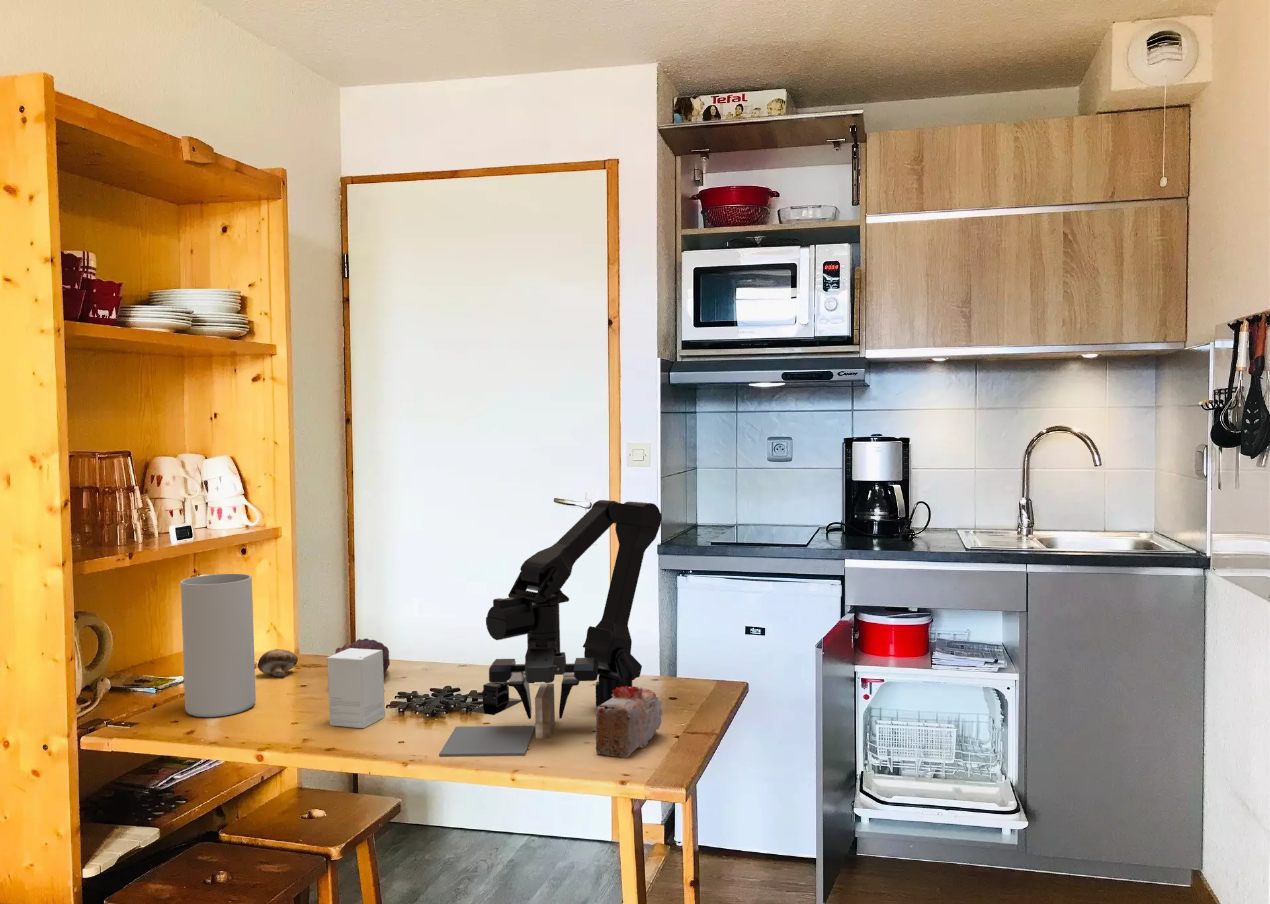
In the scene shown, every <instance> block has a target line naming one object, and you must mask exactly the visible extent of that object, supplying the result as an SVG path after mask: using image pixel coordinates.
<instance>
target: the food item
mask: <svg viewBox="0 0 1270 904" xmlns="http://www.w3.org/2000/svg"><path fill="white" fill-rule="evenodd" d="M612 693H613V694H612V698H611V699H610V700H608V701H606V702H605V703H603V704H601V705H600V706H598V707H596V713H595V719H596V720H595V721H596V723H595V724H596V725H595V750H596V753H597V754H598V755H602V756H609V757H620V758H623V759H627V758H629V757H630V756H631V754H633V752H635V751H636V749H641V748H642V749H644V748H646V747H647V745H648V744H649V741H650V740H651V739H652V738H653V737H654V735H656V733H657V731H658V730H659V729H660V726H661V724H662V716H663V713H662V712H663V711H662V704H663V703H662V700H660V698H658V697H657V694H656V693H655V691H652V690H651V689H649V688H647V687H643V686H633V687H629V686H625V687H619V688H618V687H616V689H614V690H612Z"/></svg>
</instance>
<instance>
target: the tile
mask: <svg viewBox="0 0 1270 904" xmlns="http://www.w3.org/2000/svg"><path fill="white" fill-rule="evenodd" d="M534 707H535V708H534V710H535V711H534V712H535V715H534V718H535V719H534V720H535V723H534V724H535V739H550V738H551V736H552V733H553V729H554V726H555V722H556V719H555V718H556V717H555V716H556V714H555V713H556V711H555V683H540V685H539V687H538V690H537V692H536V695H535V697H534Z"/></svg>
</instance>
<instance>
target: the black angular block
mask: <svg viewBox="0 0 1270 904" xmlns="http://www.w3.org/2000/svg"><path fill="white" fill-rule="evenodd" d="M508 682H509V681H507V682H489V681H488V682H487V683H485V684H483V685H482V686H483V687H482V689H483V690H482V692H481V693H482V703H481V704H482V705H481V704H480V706H479V705H478V706H479V707H477V706H476V707H477V708H475V707H474V708H475V709H473V708H472V709H473V710H472V711H469V710H468V712H470V713H477V714H484V715H491V716H495V715H497V714H499V713H501V712H503V711H505V710H508V709H510V708H512V707H513V706H515V705H518V704H521V703H523V702H522V700H521V698H514V697H510V686H508Z"/></svg>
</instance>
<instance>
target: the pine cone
mask: <svg viewBox="0 0 1270 904" xmlns="http://www.w3.org/2000/svg"><path fill="white" fill-rule="evenodd" d="M349 648H356V649H372V650H383V674H384V675H385V674H386V672H387V671H388V669H389V667H390V665H391V662H390V651H389V648H388V647H387V646H386V645H384V643H382V642H379V641H377V640H375V639H369V638H363V639H362V638H361V639H360V638H358V639H357V640H356V641H353V642H351V643H350V644H348V643H344V645H343V646H342V647H337V648H336V649H335V651H334V653H335V654H337V653H339V652H342V651H344V650H346V649H349Z"/></svg>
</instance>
